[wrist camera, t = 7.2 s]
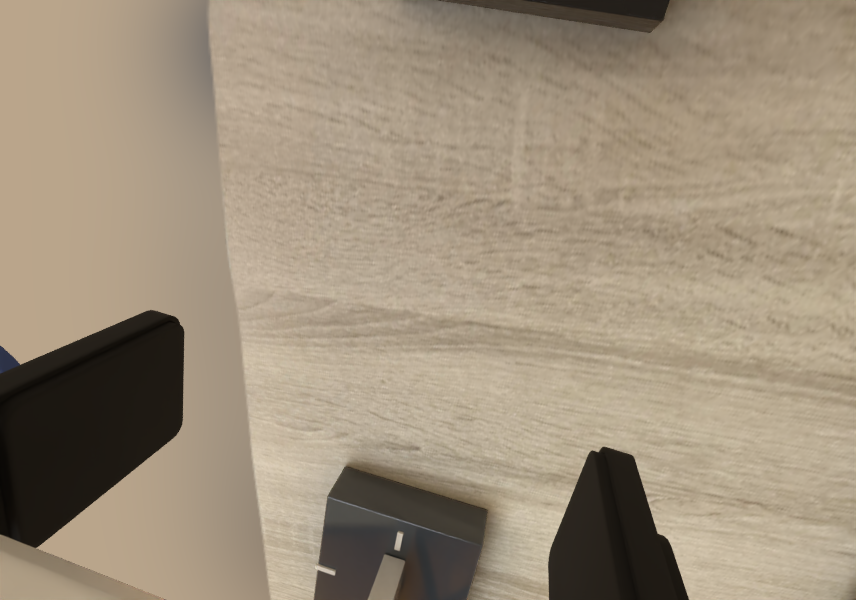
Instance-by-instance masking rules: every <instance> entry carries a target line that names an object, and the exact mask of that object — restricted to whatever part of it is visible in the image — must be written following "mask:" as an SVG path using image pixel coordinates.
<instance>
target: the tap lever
mask: <svg viewBox="0 0 856 600" xmlns="http://www.w3.org/2000/svg"><path fill="white" fill-rule="evenodd" d="M404 566H405V561H404V560H401V559H398V558H395V557H392V556H389V555H386V554H385V555H384V557H383V559H382V562H381V565H380V568H379V570H378V573H377V576H376V579H375V581H374V584H373V587H372V589H371V592H370V595H369V598H368V600H397V599H398V594H399V590H400V585H401V580H402V575H403V570H404Z"/></svg>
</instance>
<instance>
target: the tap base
mask: <svg viewBox="0 0 856 600" xmlns="http://www.w3.org/2000/svg"><path fill="white" fill-rule="evenodd" d="M487 513H488V511H487V510H486V509H482V508H479V507H476V506H473V505H469V504H466V503H463V502H460V501H456V500H453V499H450V498H447V497H443V496H440V495H437V494H434V493H430V492H427V491H424V490H421V489H417V488H414V487H411V486H408V485H405V484H401V483H398V482H395V481H392V480H388V479H385V478H382V477H379V476H375V475H372V474H369V473H366V472H362V471H359V470H356V469H353V468H349V467H344V469H343V471H342V473H341V474H340V476H339V478H338V479H337V481H336V483H335V484H334V486H333V488H332V489H331V491H330V493H329V495H328V497H327V504H326V511H325V519H324V526H323V534H322V541H321V549H320V556H319V564H316V567H315V569H317V570H318V571H317V579H316V586H315V593H314V600H368V598H369V595H370V592H371V589H372V587H373V584H374V581H375V579H376V576H377V573H378V570H379V568H380V565H381V562H382V559H383V557H384V555H385V554H386V555H389V556H392V557H395V558H398V559H401V560H404V561H405V566H404V570H403V575H402V580H401V585H400V590H399V594H398V599H397V600H467V599H468V596H469V593H470V589H471V586H472V582H473V579H474V576H475V572H476V569H477V566H478V562H479V559H480V555H481V552H482V549H483V545H484V537H485V529H486V521H487Z"/></svg>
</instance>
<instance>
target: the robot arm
mask: <svg viewBox="0 0 856 600" xmlns="http://www.w3.org/2000/svg"><path fill="white" fill-rule="evenodd" d="M183 368H184V329H183V327H182V326H181V325H180V322H179V320H178V319H177V318H176V317H174V316H171V315H167V314H164V313H161V312H158V311H153V310H150V311H146V312H143V313H141V314H139V315H136V316H134V317H132V318H129V319H127V320H125V321H122V322H120V323H118V324H115V325H113V326H111V327H108V328H106V329H103V330H102V331H99V332H97V333H94V334H92V335H89V336H87V337H85V338H82V339H80V340H78V341H75V342H73V343H71V344H69V345H66V346H64V347H61V348H59V349H57V350H54V351H52V352H50V353H47V354H45V355H43V356H40V357H38V358H35V359H33V360H31V361H28V362H26V363H24V364H21V365H19V366H17V367H14V368H12V369H10V370H7V371H5V372H2V373H0V600H165V599H163V598H160V597H158V596H155V595H153V594H150V593H148V592H145V591H143V590H140V589H137V588H135V587H133V586H130V585H128V584H125V583H123V582H120V581H117V580H115V579H112V578H110V577H107V576H105V575H102V574H100V573H97V572H95V571H92V570H90V569H87V568H85V567H82V566H79V565H77V564H74V563H72V562H69V561H66V560H64V559H62V558H59V557H57V556H54V555H51V554H49V553H46V552H43V551H41V550H39V549H36V548H37V547H38V546H40V545H41V544H42V543H44V542H45V541H46V540H47V539H48V538H50V537H51V536H52V535H53V534H55V533H56V532H57V531H58V530H59V529H61V528H62V527H63V526H65V525H66V524H67V523H68V522H70V521H71V520H72V519H73V518H75V517H76V516H77V515H78V514H79V513H80V512H82V511H83V510H85V508H87V507H88V506H89V505H91V504H92V503H93V502H94V501H96V500H97V499H98V498H99V497H100V496H102V495H103V494H104V493H106V492H107V491H108V490H109V489H111V488H112V487H113V486H114V485H116V484H117V483H118V482H119V481H121V480H122V479H123V478H124V477H126V476H127V475H128V474H129V473H130V472H131V471H133V470H134V469H135V468H137V467H138V466H139V465H140V464H142V463H143V462H144V461H145V460H146V459H147V458H149V457H150V456H152V455H153V454H154V453H155V452H156V451H158V450H159V449H160V448H161V447H163V446H164V445H165V444H167V442H169V441H170V440H171V439H173V438H174V437H175V436H176V435H177V433H178V432H179V430H180V428H181V426H182V421H183V371H184V369H183ZM548 571H549V600H689V599H688V596H687V592H686V589H685V586H684V583H683V580H682V577H681V574H680V571H679V568H678V565H677V562H676V559H675V556H674V553H673V550H672V547H671V545H670V543H669V541H668V539H667V538H665V537H664V536H663V535H660V534H657V530H656V527H655V524H654V521H653V517H652V514H651V511H650V508H649V504H648V501H647V498H646V495H645V491H644V488H643V485H642V482H641V478H640V475H639V472H638V469H637V465H636V462H635V459H634V457H633V456H632V455H630V454H627V453H623V452H620V451H617V450H614V449H610V448H607V447H602V448H601V450H600V451H599V452H595V451H591V452H590V453H589V455H588V457H587V459H586V462H585V464H584V467H583V469H582V472H581V474H580V477H579V479H578V482H577V484H576V487H575V489H574V492H573V494H572V497H571V499H570V502H569V504H568V507H567V509H566V512H565V514H564V517H563V519H562V522H561V524H560V527H559V529H558V532H557V534H556V537H555V539H554V542H553V544H552V547H551V550H550V555H549V562H548Z"/></svg>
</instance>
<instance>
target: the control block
mask: <svg viewBox="0 0 856 600" xmlns="http://www.w3.org/2000/svg"><path fill="white" fill-rule="evenodd" d="M440 1H446V2H453V3H459V4H466V5H472V6H479V7H485V8H491V9H498V10H504V11H511V12H517V13H524V14H530V15H537V16H543V17H550V18H556V19H563V20H569V21H576V22H582V23H589V24H595V25H602V26H608V27H615V28H621V29H628V30H634V31H641V32H647V33H651V32H652V31H653V30H654V29H655V28H656V27H657V26H658V25H659V24H660V23H661V22H662V21H663V20H664V17H665V13H666V10H667V7H668V4H669V1H670V0H440Z"/></svg>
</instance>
